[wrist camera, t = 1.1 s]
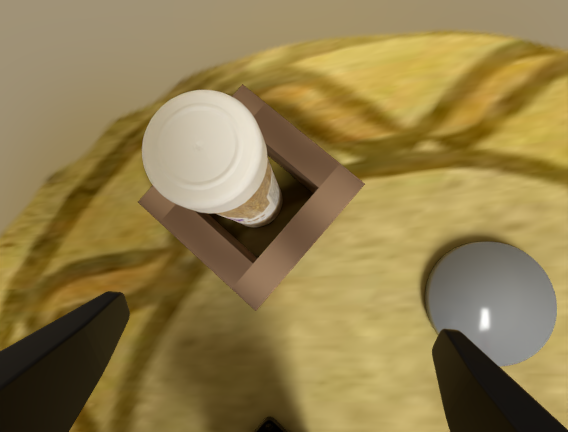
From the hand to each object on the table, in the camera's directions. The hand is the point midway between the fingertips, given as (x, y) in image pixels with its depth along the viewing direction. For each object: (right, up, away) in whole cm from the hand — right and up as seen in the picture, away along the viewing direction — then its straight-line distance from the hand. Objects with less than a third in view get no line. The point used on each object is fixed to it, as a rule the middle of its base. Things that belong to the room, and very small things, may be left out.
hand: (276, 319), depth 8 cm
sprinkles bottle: (-2, +4, +16) cm, 16 cm away
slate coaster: (+16, -4, +14) cm, 21 cm away
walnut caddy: (-2, +4, +15) cm, 16 cm away
